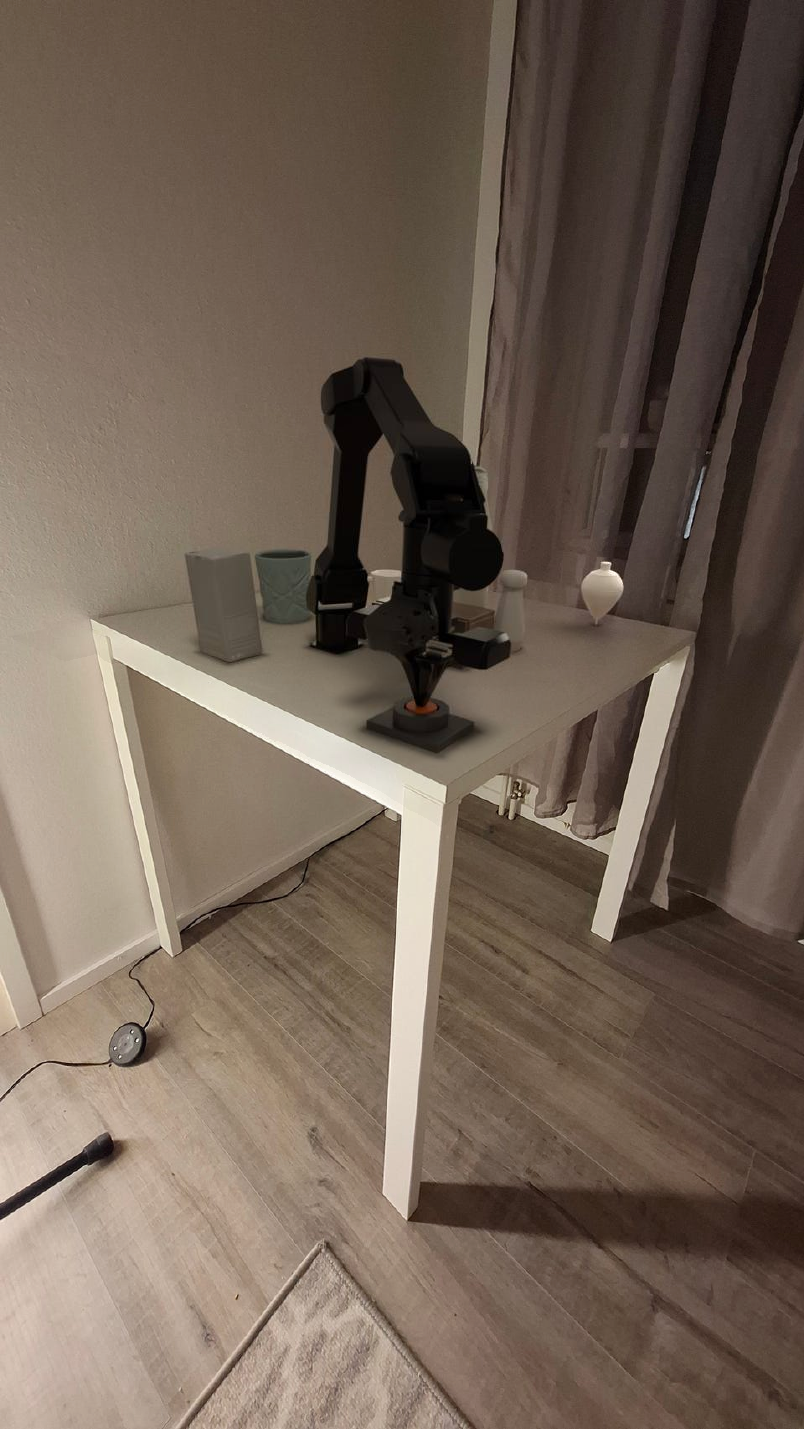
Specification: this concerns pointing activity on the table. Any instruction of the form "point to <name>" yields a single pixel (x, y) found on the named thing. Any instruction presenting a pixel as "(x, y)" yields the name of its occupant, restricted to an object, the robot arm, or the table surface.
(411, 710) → the release button
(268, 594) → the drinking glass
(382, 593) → the cup
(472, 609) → the cabinet
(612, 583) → the spinning top
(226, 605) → the cosmetic box
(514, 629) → the salt shaker
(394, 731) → the button block
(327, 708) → the table surface
